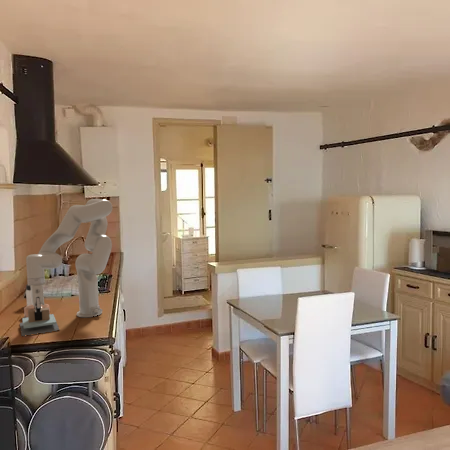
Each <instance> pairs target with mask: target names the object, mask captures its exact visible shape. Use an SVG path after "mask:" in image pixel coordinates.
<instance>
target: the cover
mask: <svg viewBox="0 0 450 450" xmlns="http://www.w3.org/2000/svg"><path fill="white" fill-rule="evenodd" d="M49 309H50V307H49V308H48V307H47V308H41V311H42V320H37V321H35V313H34V312H35V309H31V310H28V317H27V318H25V317H22V318H21V319H22V323H23V327H24V329H25V328H32V327H39V326H45V325H52V324H57V325H58V323H56V322H57V320H56V317H55V314H54V313H52V314H51V313H50V315H49Z"/></svg>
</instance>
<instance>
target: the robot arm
mask: <svg viewBox="0 0 450 450" xmlns="http://www.w3.org/2000/svg"><path fill="white" fill-rule="evenodd" d="M112 212H113V204H112V202H111V201H109V200H107V199H102V198H101V199H100V198H91V199H89V200H87V202H86V203H85V205H84V204H83V205H82V204H81V205H80V204H74V205H72V206H70V207H69V208H68V210H67V212H66V213H65V215H64V216H63V218H62V220H61V222H60V224H59V226H58V227H57V229H56V230H55V231H54V232H53V233H52V234H51V235H50V236H49V237H48V238H47V239H46V240H45V241H44V243H43V244H42V245H41V247H40V249H39V251H38V253H37V254H36V253H34V254H33V253H32V254H29V255H27V256H26V258H25V259H26V260H25V262H26V278H27V280H26V281H27V284H28V285H30V286H31V298H32V303H33V306H34V309H35V312H34V313H35V321H37V320H42V311H41V304H42V305H44V304H45V298H44V297H45V295H44V284H45V283H46V282H45V281H46V279H45V270H46V269H51V270H52V269H57V268H59V267H60V266H61V265H62V263H63V257H62V256H61V255H60V254H59V253H57V252H56V251H57V250H58V249H59V248H60V246H62V245H63V244H65V243H68V242H69V241H71V240H72V239H74V237H75V235H76V233H77V232H78V230H79V228H80V227H81V224H82V223H84V224H85V223H90V225H89V229H88V232H87V234H86V237H85V241H84V248H85V250H87V251H89V252H91V253H86V252H85V253H81V254H80V255H78V256H77V258H76V259H75V265H74V266H75V271H76V273H77V283H78V285H77V286H78V287H77V288H78V300H79V301H78V305H79V311H77V312H76V316H77V317H78V318H93V316H94V317H97V315H98V316H100V315H102V314H103V309H102V308H101V307H100V304H99V288H98V287H99V286H98V284H99V283H98V276H97V275H100V274H101V273H103V272H104V271H105V269H106V266H107V264H108V262H109V259H110V255H111V252H112V248H113V241H112V239H111V237H110V236H108V235H106V233H107V229H108V225H109V223H108V219H107V218H108V216H109V215H110V214H111V213H112Z"/></svg>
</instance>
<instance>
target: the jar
mask: <svg viewBox="0 0 450 450" xmlns="http://www.w3.org/2000/svg"><path fill="white" fill-rule="evenodd" d="M25 286H26V287H25V295H26V297H25V298H26V306H29V305H33V303H32V298H31V286H30V285H28V283H27V284H26V285H25Z"/></svg>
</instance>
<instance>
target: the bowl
mask: <svg viewBox="0 0 450 450" xmlns="http://www.w3.org/2000/svg"><path fill="white" fill-rule="evenodd" d="M47 307H48V308H49V315H50V314H51V313H50V312H51V311H50V304H48V303H44V305H42V304H41V308H47ZM31 309H34V306H33V305H29V306H27V305H26V306H25V307H23V311H24V313H23V315H24V318H27V317H28V310H31Z"/></svg>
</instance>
